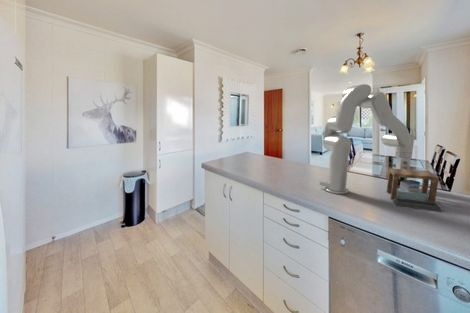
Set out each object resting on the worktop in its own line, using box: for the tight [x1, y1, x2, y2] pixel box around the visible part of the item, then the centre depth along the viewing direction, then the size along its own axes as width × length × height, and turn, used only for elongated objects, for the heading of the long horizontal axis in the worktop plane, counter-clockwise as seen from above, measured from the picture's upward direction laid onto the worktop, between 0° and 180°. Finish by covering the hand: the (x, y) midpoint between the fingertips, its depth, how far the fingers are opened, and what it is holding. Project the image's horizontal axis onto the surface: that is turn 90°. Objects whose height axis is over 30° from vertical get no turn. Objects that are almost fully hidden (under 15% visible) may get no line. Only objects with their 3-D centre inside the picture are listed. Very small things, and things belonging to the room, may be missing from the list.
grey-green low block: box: [396, 178, 429, 202], centre depth 117 cm, size 12×25×7 cm, turn 154°
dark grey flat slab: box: [393, 198, 442, 212], centre depth 101 cm, size 16×6×2 cm, turn 64°
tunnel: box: [386, 167, 440, 203], centre depth 110 cm, size 17×13×14 cm
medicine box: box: [399, 179, 421, 193], centre depth 111 cm, size 8×4×9 cm, turn 106°
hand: (400, 184), depth 128 cm, fingers closed on grey-green low block, 2 cm apart
